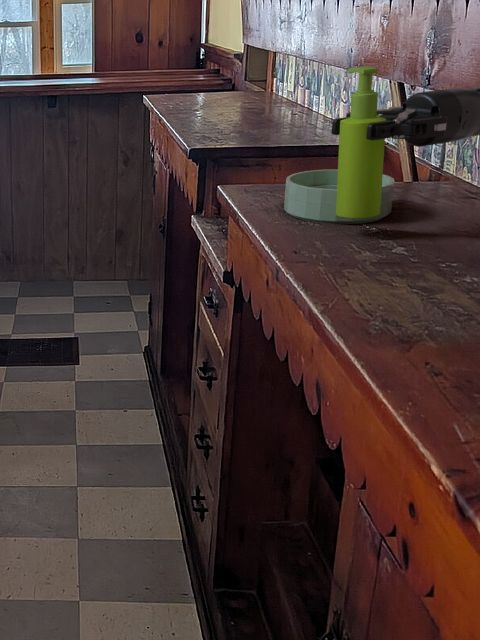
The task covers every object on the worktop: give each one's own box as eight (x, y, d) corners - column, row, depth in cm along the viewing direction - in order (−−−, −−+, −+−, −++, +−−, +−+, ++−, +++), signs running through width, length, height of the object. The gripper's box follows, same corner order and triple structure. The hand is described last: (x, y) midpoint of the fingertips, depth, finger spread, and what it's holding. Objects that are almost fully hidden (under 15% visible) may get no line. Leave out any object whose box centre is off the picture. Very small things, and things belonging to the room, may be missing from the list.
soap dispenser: (365, 206, 127) (373, 63, 120) (387, 215, 121) (398, 65, 114) (326, 210, 127) (332, 68, 120) (346, 219, 121) (354, 70, 114)
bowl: (402, 207, 142) (406, 173, 140) (373, 230, 130) (377, 193, 128) (303, 198, 151) (306, 166, 149) (268, 219, 139) (271, 185, 137)
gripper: (405, 86, 129) (316, 97, 123) (489, 92, 117) (394, 105, 111) (399, 137, 132) (312, 150, 126) (481, 149, 119) (388, 164, 114)
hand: (351, 129), depth 119 cm, fingers closed on soap dispenser, 6 cm apart
